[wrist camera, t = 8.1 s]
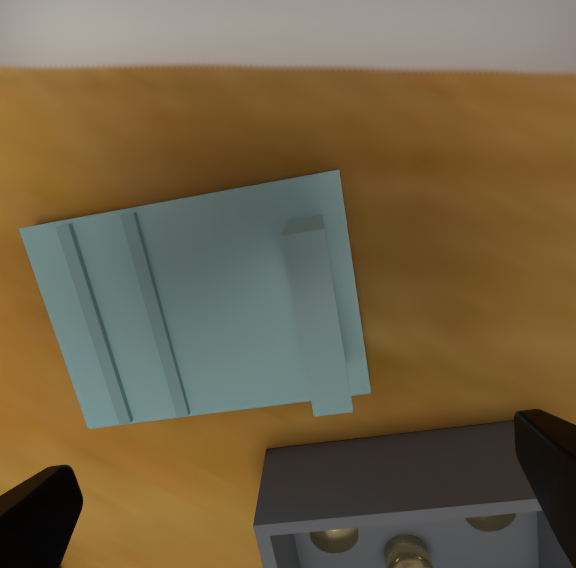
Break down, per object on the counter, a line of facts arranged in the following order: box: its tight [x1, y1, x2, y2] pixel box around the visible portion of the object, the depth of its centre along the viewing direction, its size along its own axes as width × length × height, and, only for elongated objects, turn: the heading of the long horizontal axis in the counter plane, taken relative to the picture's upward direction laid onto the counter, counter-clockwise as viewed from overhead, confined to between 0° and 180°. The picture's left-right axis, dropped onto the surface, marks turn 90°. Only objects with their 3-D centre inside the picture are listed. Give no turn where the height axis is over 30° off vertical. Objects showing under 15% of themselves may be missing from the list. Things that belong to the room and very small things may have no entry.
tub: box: [253, 421, 573, 568], centre depth 21 cm, size 14×10×5 cm
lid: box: [19, 170, 371, 429], centre depth 18 cm, size 14×10×6 cm
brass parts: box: [310, 513, 517, 568], centre depth 22 cm, size 10×6×2 cm, turn 100°
